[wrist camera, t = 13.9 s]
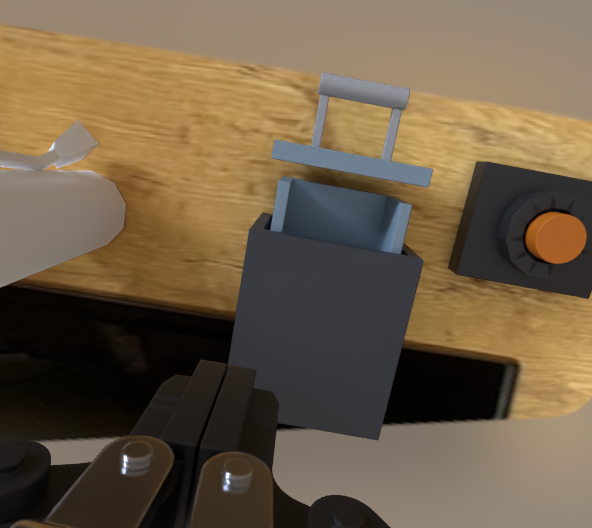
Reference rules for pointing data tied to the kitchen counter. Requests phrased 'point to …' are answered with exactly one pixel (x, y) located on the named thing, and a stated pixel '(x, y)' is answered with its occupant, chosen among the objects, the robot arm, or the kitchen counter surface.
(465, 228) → the control block
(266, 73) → the kitchen counter surface
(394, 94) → the drawer
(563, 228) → the button
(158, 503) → the robot arm
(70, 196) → the fire extinguisher
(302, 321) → the drawer housing
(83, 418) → the kitchen counter surface
